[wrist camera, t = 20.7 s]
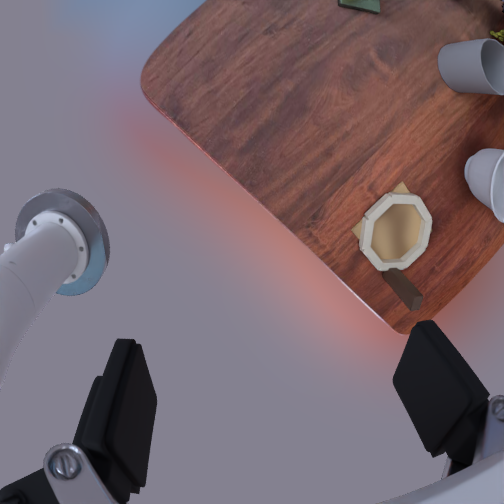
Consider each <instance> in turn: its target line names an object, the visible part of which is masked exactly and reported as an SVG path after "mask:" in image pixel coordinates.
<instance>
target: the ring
mask: <svg viewBox="0 0 504 504" xmlns="http://www.w3.org/2000/svg"><path fill="white" fill-rule="evenodd" d="M392 204H412V205H413V207H414V208H415V210H416V212H417V213H418V215H419V216H420V218H421V225H420V230H419V235H418V240H417V243H416V244H415V245H414V246H413V247H412V248H411V249H410V250H409V251H408V252H407V253H405V254H404V255H403V256H402V257H401V258H400V259H380V258H379V257H378V256H377V254H376V253H375V252H374V251H373V249H372V248H371V241H372V234H373V228H374V222H375V221H376V220H377V219H378V218H379V217H380V216H381V215H382V214H383V213H384V212H385V211H386V210H387V209H388V208H389V207H390V206H391V205H392ZM364 215H365V216H366V217H363V219H362V227H361V234H360V241H359V246H360V250H361V251H362V252H363V253H364V254H365V256H366V257H367V258H368V259H369V260H370V262H371V263H372V264H373V265H374V266H375V268H376V269H377V270H380V271H384V272H383V278H384V279H385V280H386V282H387V283H388V284H389V285H390V286H391V288H392V289H393V290H394V291H395V292H396V294H397V295H398V296H399V297H400V299H401V300H402V301H403V302H404V303H405V305H406V306H407V307H408V308H409V310H410V311H414V310H419V309H420V305H421V302H422V299H423V295H422V294H421V293H420V292H419V290H418V289H417V288H416V287H415V286H414V285H413V284H412V283H411V282H410V281H409V280H408V279H407V278H406V277H405V276H404V274H403V273H402V272H401V271H400V270H404V267H405V268H407V267H408V266H409V265H411V264H412V263H413V262H414V261H415V260H416V259H417V258H418V257H419V256H420V255H421V254H422V253H423V252H424V251H425V250H426V249H425V247H427V245H428V241H429V236H430V231H431V226H432V220H431V219H432V217H431V215H430V213H429V212H428V210H427V208H426V206H425V205H424V203H423V201H422V200H421V198H420V197H419V196H417V195H415V194H412V193H396V192H388V194H387V193H386V194H385V195H384V196H383V197H382V198H380V199H379V200H378V201H377V202H376V203H375V204H374V205H373V206H372V207H371V208H370V209H369V210H368V211H367V212H366V213H365V214H364Z"/></svg>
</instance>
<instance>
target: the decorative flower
mask: <svg viewBox="0 0 504 504" xmlns="http://www.w3.org/2000/svg"><path fill="white" fill-rule="evenodd" d="M501 1H503V2H504V0H501ZM502 7H503V11H502V12H503V13H504V4H503V6H502ZM490 34H491V35H492V36H494V37H495V38H498V37H499V36H500V37H499V40H500V41H501V42H503V41H504V39H503V37H504V29H503V30H500V32H498V33H496V32H494V31H492V30H491V31H490Z"/></svg>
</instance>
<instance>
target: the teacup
mask: <svg viewBox="0 0 504 504" xmlns="http://www.w3.org/2000/svg"><path fill="white" fill-rule="evenodd" d="M465 179H466V181H467V183H468V184H469V187H470V190H471V192H472V193H473V195H474V196H475V197H476V198H477V199H478V200H479V201H480V202H482V203H483V204H484V205H486V206H487V207H489V208H490V209H491V210H493V212H494V214H495V216H496V217H497V219H498V220H499V221H501V222H503V223H504V150H501V149H483V150H480V151H478V152H477V153H476V154H475V155H473V156H471V157H470V158H469V159H468V161H467V162H466V165H465Z"/></svg>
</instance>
